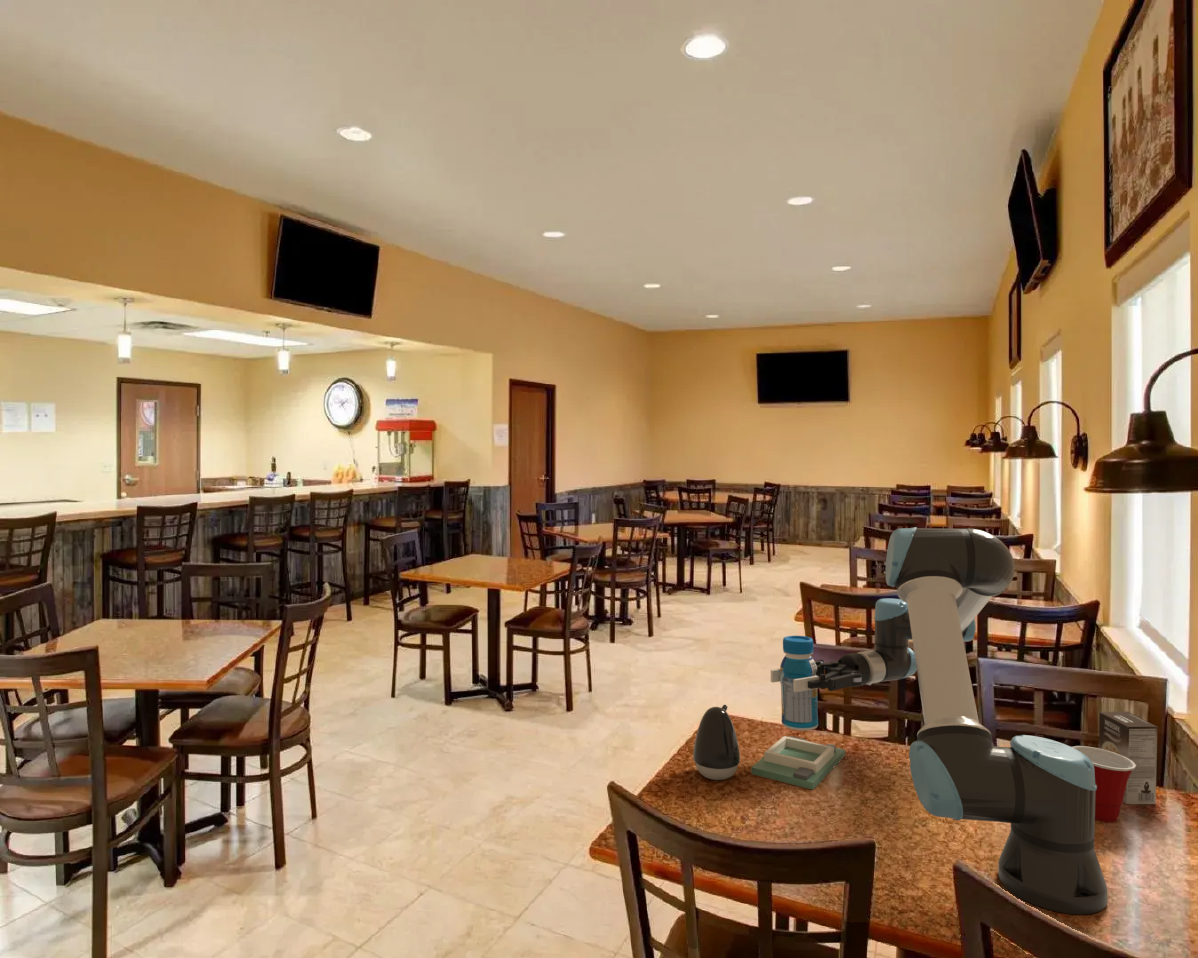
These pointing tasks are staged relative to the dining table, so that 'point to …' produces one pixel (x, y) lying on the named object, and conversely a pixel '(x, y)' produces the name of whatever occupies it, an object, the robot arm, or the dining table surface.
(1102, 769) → the plastic cup
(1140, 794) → the coffee box
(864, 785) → the dining table surface
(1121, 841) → the dining table surface
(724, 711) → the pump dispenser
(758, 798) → the dining table surface
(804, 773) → the board
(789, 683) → the beverage bottle
